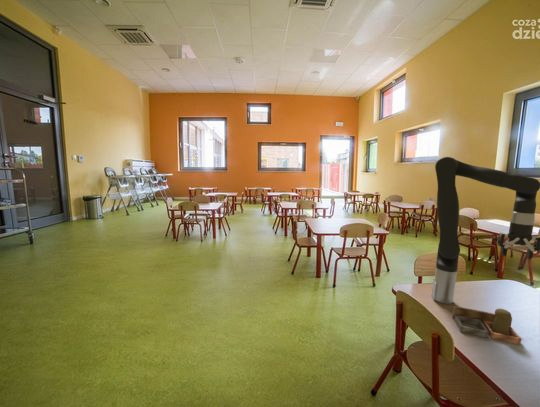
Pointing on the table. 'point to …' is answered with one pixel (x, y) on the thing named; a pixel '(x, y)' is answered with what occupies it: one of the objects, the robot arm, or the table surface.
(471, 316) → the shaker rack
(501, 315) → the cork
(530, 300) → the table surface
